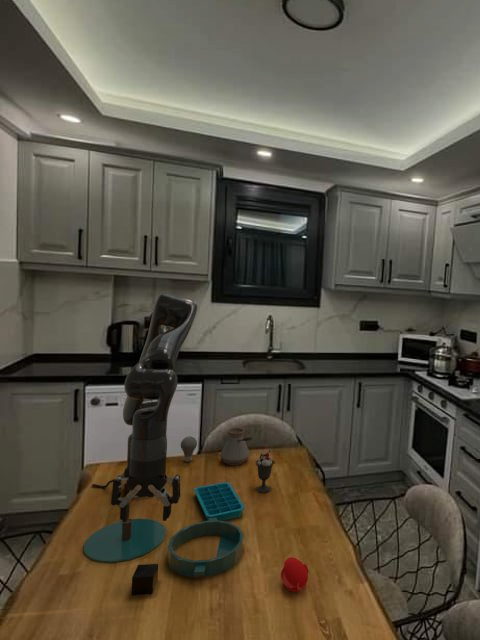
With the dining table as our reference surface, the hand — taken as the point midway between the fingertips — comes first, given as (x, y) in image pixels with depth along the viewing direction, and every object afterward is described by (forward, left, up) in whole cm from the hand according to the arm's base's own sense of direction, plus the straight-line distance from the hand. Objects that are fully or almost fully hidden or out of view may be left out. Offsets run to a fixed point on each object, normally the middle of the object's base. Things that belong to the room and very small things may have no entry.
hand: (145, 519), depth 101 cm
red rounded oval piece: (+36, -3, -17) cm, 40 cm away
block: (+1, -1, -17) cm, 17 cm away
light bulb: (-3, +72, -17) cm, 74 cm away
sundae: (+27, +47, -17) cm, 57 cm away
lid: (-9, +19, -17) cm, 27 cm away
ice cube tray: (+13, +36, -17) cm, 42 cm away
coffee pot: (+17, +67, -17) cm, 71 cm away
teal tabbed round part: (+13, +11, -17) cm, 24 cm away
